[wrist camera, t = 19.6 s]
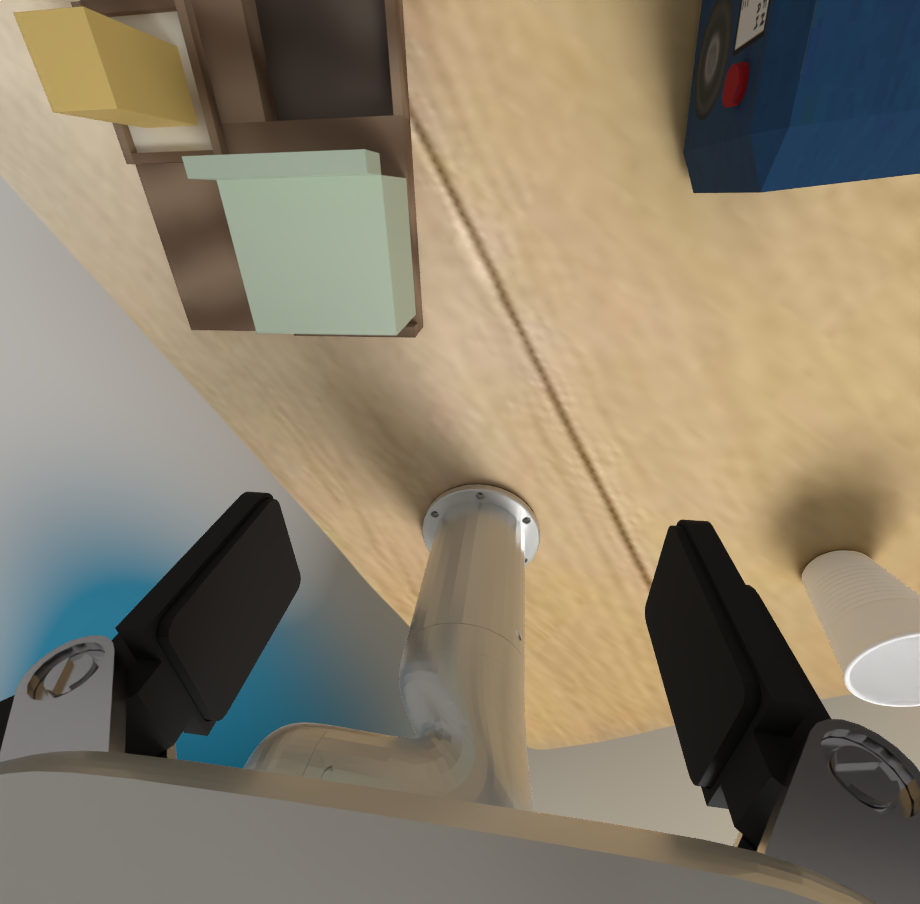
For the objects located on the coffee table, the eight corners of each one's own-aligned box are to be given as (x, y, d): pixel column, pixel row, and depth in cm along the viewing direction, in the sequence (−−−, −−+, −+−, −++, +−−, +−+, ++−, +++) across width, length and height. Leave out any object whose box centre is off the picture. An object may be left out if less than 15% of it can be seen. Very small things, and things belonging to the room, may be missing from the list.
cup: (853, 515, 40) (951, 613, 31) (916, 568, 42) (1026, 674, 33) (757, 571, 45) (817, 670, 36) (817, 616, 47) (890, 720, 38)
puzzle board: (423, 326, 36) (414, 337, 34) (205, 323, 39) (182, 333, 36) (392, -160, 23) (374, -208, 20) (65, -119, 26) (10, -156, 23)
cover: (415, 314, 34) (386, 346, 27) (295, 313, 35) (236, 343, 28) (404, 160, 29) (364, 149, 21) (264, 165, 30) (181, 156, 23)
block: (198, 125, 29) (117, 108, 23) (145, 128, 30) (53, 112, 24) (177, 46, 27) (82, 6, 21) (120, 50, 28) (13, 12, 22)
